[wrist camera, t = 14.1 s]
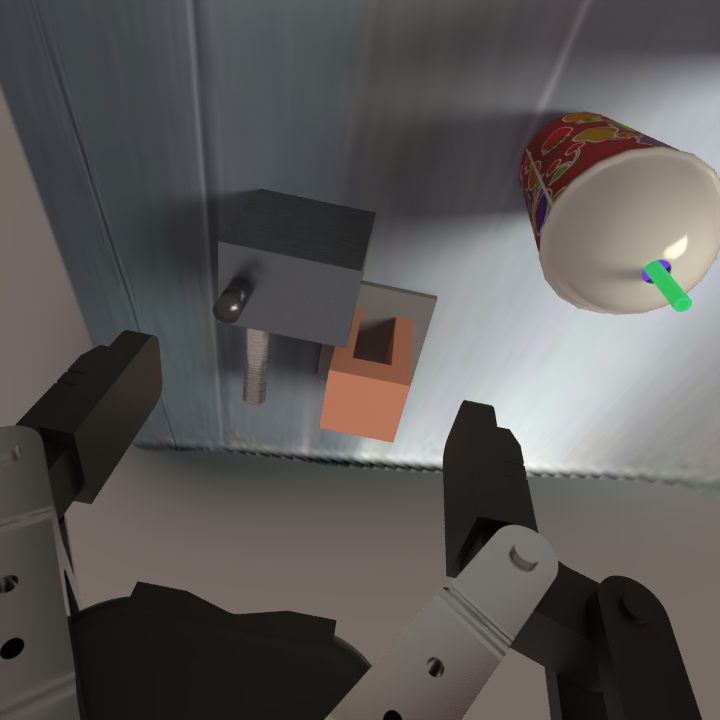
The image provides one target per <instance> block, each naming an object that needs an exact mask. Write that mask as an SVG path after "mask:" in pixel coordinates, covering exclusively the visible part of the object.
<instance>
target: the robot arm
mask: <svg viewBox="0 0 720 720" xmlns="http://www.w3.org/2000/svg"><path fill="white" fill-rule="evenodd" d="M161 390H162V372H161V360H160V349H159V341H158V338H157V337H156V336H153V335H148V334H144V333H139V332H134V331H129V330H125V331H123V332H122V333H121V334H120V335H119V336H118V337H117V338H116V340H115V341H114V342H113V343H112V344H111V345H110V346H109V347H108V346H103V345H100V346H98V347H96V348H94V349H92V350H90V351H88V352H87V353H85V354H83V355H81V356H80V357H79V358H78V359H77V360H76V361H75V362H74V363H73V364H72V365H71V366H70V368H69V369H68V372H65V373H64V374H63V375H62V376H61V377H60V378H59V379H58V380H57V383H55V384H53V386H52V387H51V388H50V389H49V390H48V391H47V392H46V393H45V394H44V395H43V396H42V397H41V398H40V399H39V401H37V403H36V404H35V405H34V406H33V407H32V408H31V409H30V410H29V411H28V412H27V413H26V414H25V416H23V417H22V418H21V420H20V421H19V422H18V423H17V424H16V425H14V426H5V427H0V720H462V718H463V717H464V715H465V714H466V712H467V711H468V709H469V708H470V706H471V705H472V703H473V702H474V701H475V699H476V698H477V696H478V695H479V693H480V692H481V690H482V689H483V687H484V685H485V684H486V683H487V681H488V679H489V678H490V677H491V675H492V674H493V672H494V671H495V669H496V668H497V666H498V665H499V663H500V662H501V660H502V659H503V657H504V656H505V654H506V653H507V651H508V650H509V648H512V649H514V650H516V651H517V652H519V653H521V654H523V655H525V656H526V657H528V658H530V659H532V660H534V661H535V662H537V663H539V664H541V665H543V666H544V667H545V674H546V682H547V690H548V699H549V706H550V716H551V720H702V718H701V715H700V712H699V709H698V706H697V703H696V700H695V697H694V694H693V691H692V688H691V685H690V681H689V678H688V675H687V672H686V670H685V666H684V663H683V660H682V657H681V654H680V651H679V648H678V645H677V642H676V639H675V636H674V633H673V630H672V627H671V623H670V620H669V618H668V615H667V613H666V611H665V609H664V607H663V605H662V604H661V603H660V602H659V600H658V599H657V598H656V597H655V595H654V594H653V593H652V592H651V591H650V590H648V589H647V588H646V587H645V586H643V585H642V584H640V583H638V582H637V581H635V580H633V579H630V578H627V577H624V576H610V577H608V578H606V579H604V580H603V581H602V582H601V583H600V584H599V583H598V582H596V581H594V580H592V579H590V578H588V577H586V576H584V575H582V574H579V573H578V572H576V571H574V570H572V569H570V568H568V567H566V566H565V565H563V564H562V563H561V562H559V561H558V560H557V557H556V555H555V552H554V550H553V549H552V547H551V546H550V544H549V543H548V542H547V541H546V540H545V539H544V538H543V537H542V536H541V535H539V534H538V530H537V525H536V520H535V515H534V510H533V505H532V500H531V495H530V490H529V485H528V480H526V477H527V476H526V471H525V466H523V464H524V461H523V456H522V451H521V446H520V444H519V443H518V441H517V440H516V438H515V437H514V435H513V434H512V432H511V431H510V429H505V428H500V427H497V422H496V416H495V410H494V407H493V406H491V405H486V404H482V403H477V402H472V401H467V400H464V401H463V402H462V404H461V406H460V409H459V411H458V414H457V416H456V418H455V421H454V423H453V426H452V428H451V431H450V433H449V436H448V438H447V441H446V445H445V449H444V455H443V480H444V481H443V483H444V512H445V513H444V514H445V545H446V576H448V577H453V578H456V579H455V580H454V581H453V582H452V583H451V584H450V586H448V587H447V588H445V587H444V588H442V589H441V590H440V591H439V592H438V593H437V594H436V595H435V596H434V597H433V599H432V600H431V601H430V602H429V603H428V604H427V605H426V606H425V607H424V609H423V610H422V611H421V612H420V613H419V614H418V616H416V618H415V619H414V620H413V621H412V622H411V623H410V624H409V625H408V627H407V628H406V629H405V630H404V631H403V632H402V633H401V634H400V635H399V637H398V638H397V639H396V640H395V641H394V642H393V643H392V644H391V646H390V647H389V648H388V649H387V650H386V651H385V652H384V653H383V655H382V656H381V657H380V658H379V659H378V660H377V661H376V662H375V664H374V665H373V666H372V665H371V664H370V663H369V662H368V661H367V659H366V658H365V657H364V656H363V655H362V654H361V653H360V652H359V651H358V650H356V649H355V648H354V647H353V646H352V645H350V644H349V643H347V642H346V641H344V640H343V639H341V638H339V637H337V636H335V635H334V633H335V626H336V620H332V619H327V618H322V617H317V616H312V615H307V614H302V613H297V612H291V611H278V612H264V613H249V614H232V613H229V612H227V611H225V610H223V609H221V608H219V607H217V606H215V605H213V604H211V603H209V602H207V601H205V600H203V599H201V598H199V597H197V596H196V595H194V594H192V593H190V592H188V591H184V590H179V589H174V588H169V587H164V586H159V585H154V584H149V583H143V582H137V584H136V586H135V588H134V590H133V592H132V594H131V596H130V597H121V598H117V599H111V600H108V601H104V602H101V603H98V604H95V605H93V606H90V607H88V608H85V609H84V607H83V603H82V599H81V596H80V591H79V586H78V581H77V576H76V570H75V565H74V560H73V553H72V548H71V543H70V537H69V531H68V525H67V520H66V516H65V512H66V511H67V509H68V508H69V506H70V505H71V503H72V502H73V501H78V502H83V503H88V504H92V502H93V501H94V499H95V498H96V496H97V495H98V493H99V492H100V490H101V489H102V487H103V486H104V484H105V483H106V481H107V479H108V478H109V476H110V475H111V473H112V472H113V470H114V468H115V467H116V466H117V464H118V463H119V461H120V459H121V458H122V456H123V455H124V453H125V452H126V450H127V449H128V447H129V446H130V444H131V443H132V441H133V440H134V438H135V436H136V435H137V433H138V432H139V430H140V429H141V427H142V426H143V424H144V423H145V421H146V420H147V418H148V416H149V415H150V413H151V412H152V410H153V409H154V407H155V406H156V404H157V402H158V400H159V397H160V394H161Z"/></svg>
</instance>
